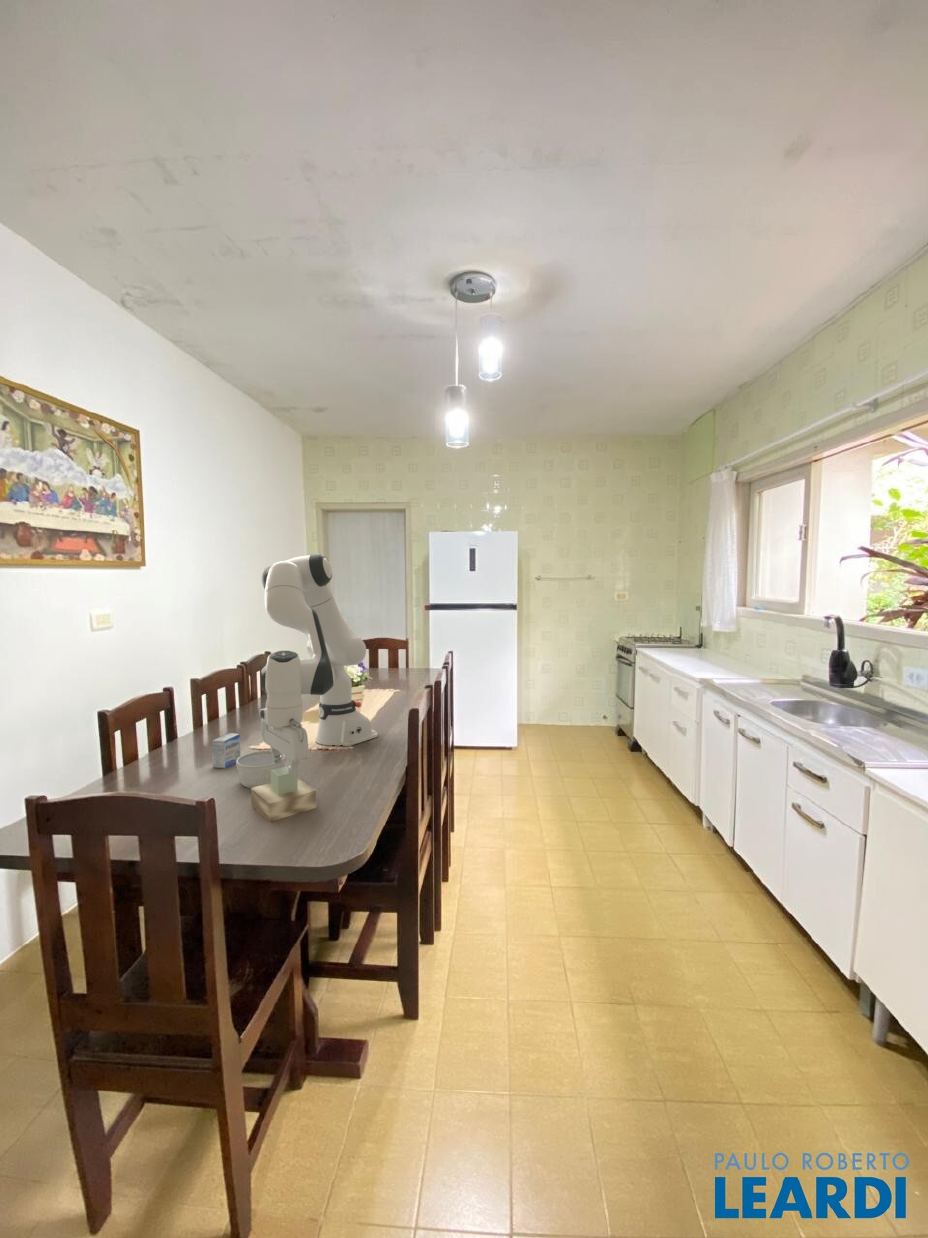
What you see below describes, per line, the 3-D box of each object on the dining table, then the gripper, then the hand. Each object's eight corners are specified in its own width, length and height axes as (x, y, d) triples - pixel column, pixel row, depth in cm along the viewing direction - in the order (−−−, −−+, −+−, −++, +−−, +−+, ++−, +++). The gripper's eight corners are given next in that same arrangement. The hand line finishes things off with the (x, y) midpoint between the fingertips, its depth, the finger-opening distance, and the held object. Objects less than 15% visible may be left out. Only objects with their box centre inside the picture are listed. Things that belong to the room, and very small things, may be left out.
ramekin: (255, 794, 140) (255, 769, 140) (226, 783, 147) (226, 759, 147) (295, 779, 152) (294, 755, 151) (265, 769, 159) (265, 747, 158)
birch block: (295, 794, 142) (295, 776, 142) (315, 809, 133) (315, 790, 133) (251, 806, 134) (251, 788, 134) (269, 823, 125) (269, 803, 125)
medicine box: (224, 769, 158) (224, 741, 157) (212, 767, 159) (211, 740, 158) (240, 760, 166) (240, 733, 165) (228, 759, 166) (228, 732, 166)
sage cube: (289, 784, 137) (289, 765, 136) (297, 790, 133) (297, 771, 132) (270, 788, 133) (270, 770, 133) (278, 795, 129) (278, 776, 129)
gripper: (315, 722, 126) (315, 777, 128) (279, 705, 141) (280, 754, 142) (290, 727, 122) (291, 783, 123) (256, 709, 137) (257, 760, 138)
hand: (285, 768), depth 133 cm, fingers open, 8 cm apart
